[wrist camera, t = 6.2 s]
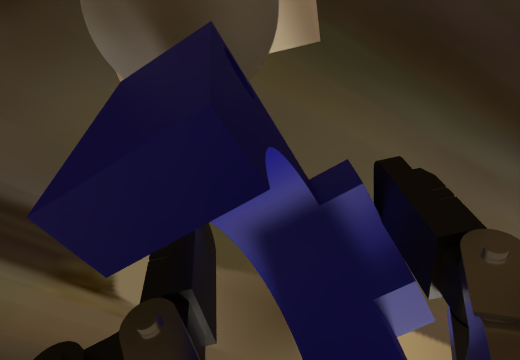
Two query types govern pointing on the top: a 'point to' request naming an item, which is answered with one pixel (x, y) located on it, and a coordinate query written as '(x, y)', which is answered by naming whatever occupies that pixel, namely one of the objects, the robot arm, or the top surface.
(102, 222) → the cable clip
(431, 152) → the top surface
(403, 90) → the top surface
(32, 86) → the top surface
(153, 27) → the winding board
